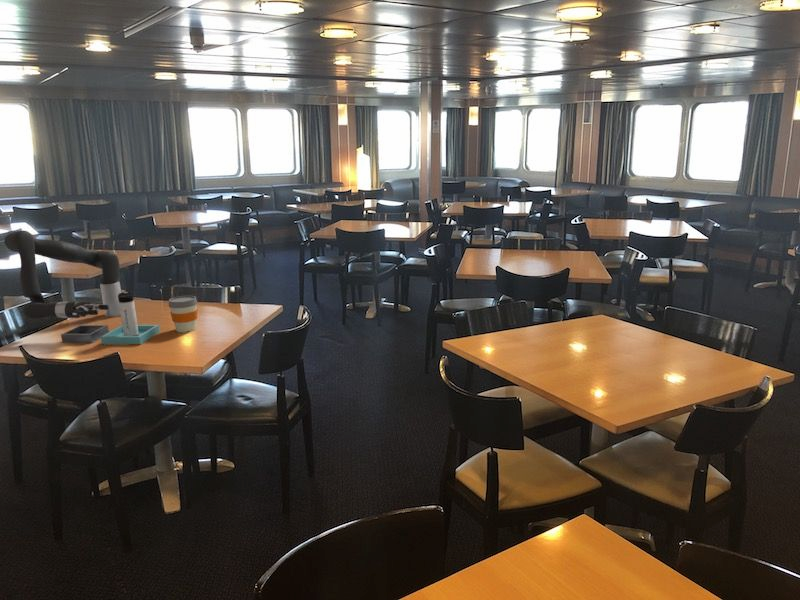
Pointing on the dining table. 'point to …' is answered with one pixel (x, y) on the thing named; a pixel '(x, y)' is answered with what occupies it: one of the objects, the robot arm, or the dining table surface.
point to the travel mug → (128, 314)
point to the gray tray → (84, 334)
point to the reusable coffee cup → (183, 312)
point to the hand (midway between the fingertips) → (102, 309)
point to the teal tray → (119, 339)
